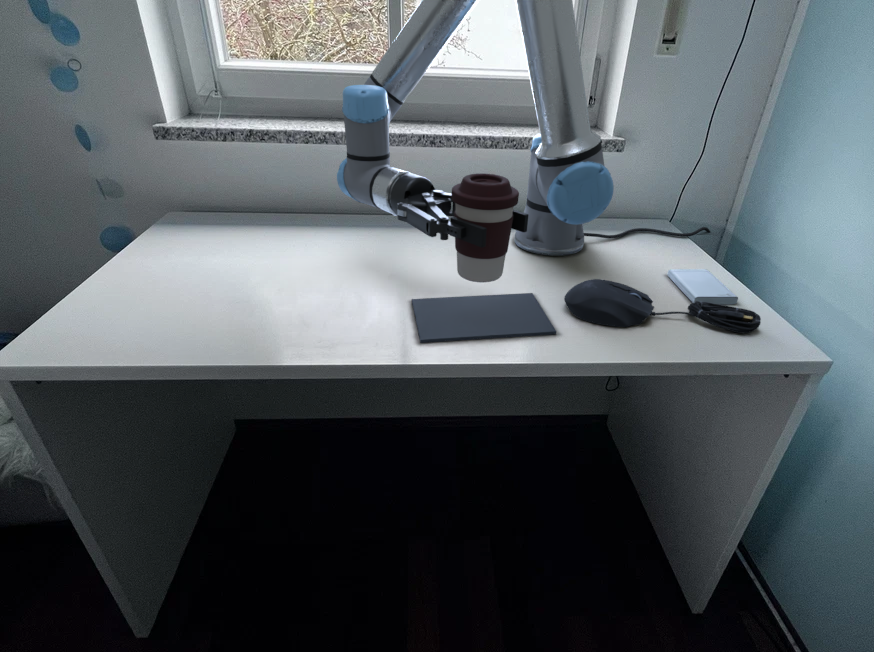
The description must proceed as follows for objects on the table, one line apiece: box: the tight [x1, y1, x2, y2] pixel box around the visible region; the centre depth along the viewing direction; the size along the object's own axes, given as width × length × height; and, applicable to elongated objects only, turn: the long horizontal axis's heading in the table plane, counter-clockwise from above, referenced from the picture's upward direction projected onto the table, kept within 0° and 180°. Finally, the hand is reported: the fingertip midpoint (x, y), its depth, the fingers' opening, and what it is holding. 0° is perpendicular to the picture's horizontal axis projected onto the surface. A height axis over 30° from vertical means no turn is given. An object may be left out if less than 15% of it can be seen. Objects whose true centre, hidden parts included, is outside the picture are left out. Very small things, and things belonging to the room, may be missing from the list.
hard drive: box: [666, 268, 739, 305], centre depth 104 cm, size 2×8×12 cm
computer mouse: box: [563, 278, 762, 334], centre depth 92 cm, size 10×32×6 cm, turn 83°
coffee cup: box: [451, 172, 520, 283], centre depth 83 cm, size 10×10×15 cm
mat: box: [411, 292, 557, 344], centre depth 92 cm, size 22×14×1 cm, turn 100°
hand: (505, 230), depth 80 cm, fingers closed on coffee cup, 9 cm apart
